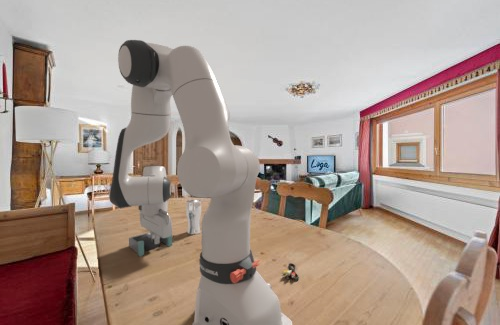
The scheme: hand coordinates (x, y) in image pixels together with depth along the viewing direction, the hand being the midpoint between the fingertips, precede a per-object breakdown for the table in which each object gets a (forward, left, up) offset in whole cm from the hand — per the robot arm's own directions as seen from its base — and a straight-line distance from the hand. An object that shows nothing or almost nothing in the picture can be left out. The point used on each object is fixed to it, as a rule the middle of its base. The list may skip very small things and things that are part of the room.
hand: (155, 243), depth 82 cm
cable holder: (+6, 0, -3) cm, 6 cm away
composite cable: (-48, -21, -3) cm, 52 cm away
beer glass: (+5, -21, -3) cm, 21 cm away
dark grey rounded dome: (+5, 0, -3) cm, 6 cm away
